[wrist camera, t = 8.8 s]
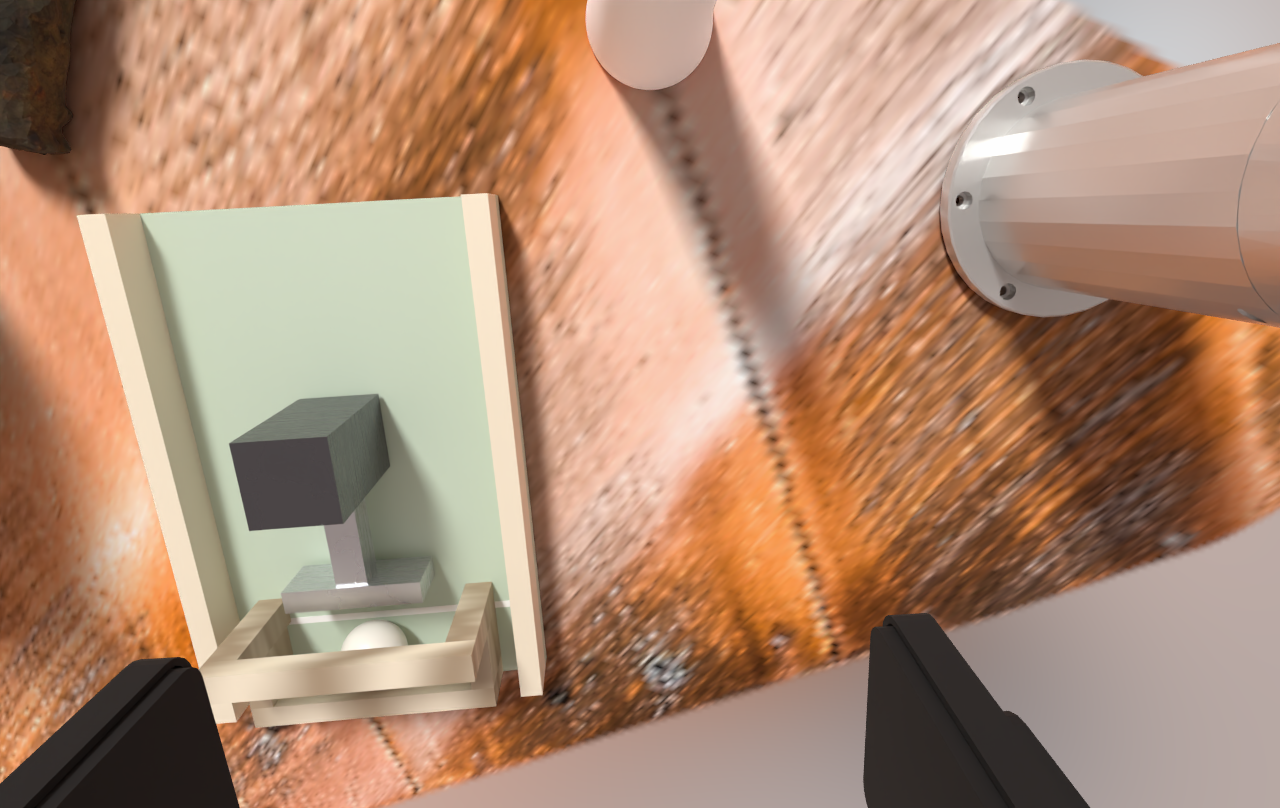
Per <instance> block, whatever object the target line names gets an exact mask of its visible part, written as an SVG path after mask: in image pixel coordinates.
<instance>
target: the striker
mask: <svg viewBox="0 0 1280 808" xmlns="http://www.w3.org/2000/svg"><path fill="white" fill-rule="evenodd" d="M229 447H230V451H231V455H232V459H233V464H234V468H235V472H236V477H237V481H238V485H239V490H240V494H241V498H242V503H243V507H244V511H245V515H246V520H247V524H248V528H249V531H256V530H270V529H283V528H296V527H309V526H323V525H324V529H325V534H326V539H327V544H328V549H329V554H330V559H331V564H321V565H308V566H303V567H302V568H301V569H300V571H299V572H298V573H297V574H296V575H295V577H294V578H293V579H292V580H291V581H290V583H289V584H288V585H287V586H286V588H285V589H284V590H283V591H282V592H281V597H282V601H283V606H284V610H285V614H290V613H303V612H315V611H327V610H340V609H352V608H364V607H377V606H389V605H401V604H414V603H423V601H424V599H425V597H426V595H427V592H428V590H429V588H430V586H431V583H432V581H433V579H434V576H435V571H434V565H433V558H432V556H424V557H411V558H398V559H385V560H376V559H375V554H374V548H373V543H372V537H371V531H370V526H369V520H368V514H367V509H366V503H365V497H366V495H367V494H368V493H369V492H370V491H371V489H372V488H373V487H374V486H375V484H376V483H377V482H378V481H379V479H380V478H381V477H382V476H383V474H384V473H385V472H386V471H387V469H388V468H389V467H390V461H389V455H388V449H387V443H386V437H385V431H384V425H383V419H382V413H381V407H380V401H379V395H378V394H366V395H351V396H336V397H321V398H306V399H299V400H297V401H295V402H294V403H292V404H291V405H289V406H287V407H286V408H284V409H283V410H281V411H279V412H278V413H276V414H275V415H273V416H272V417H270V418H268V419H267V420H265V421H264V422H262V423H260V424H259V425H257V426H256V427H254V428H252V429H251V430H249V431H248V432H246V433H245V434H243V435H241V436H240V437H238V438H237V439H235V440H233V441H232V442H230V443H229Z"/></svg>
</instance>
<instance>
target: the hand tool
mask: <svg viewBox="0 0 1280 808" xmlns="http://www.w3.org/2000/svg"><path fill="white" fill-rule="evenodd" d="M75 1H76V0H0V146H4V147H8V148H13V149H17V150H24V151H30V152H35V153H40V154H43V155H45V154H62V153H70V151H71V147H70V145H69V144H68V142H67V140H66V139H65V137H64V136H63V134H62V127H63V126H64V125H66V124H67V123H68V122H69V121H70V120H71V119H72V117H73V114H72V112H71V111H70V110H69V109H68V108H67V107H66V106H65V96H66V79H67V74H68V69H69V64H70V49H71V45H70V30H71V25H72V19H73V11H74V3H75Z"/></svg>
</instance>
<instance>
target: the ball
mask: <svg viewBox="0 0 1280 808" xmlns="http://www.w3.org/2000/svg"><path fill="white" fill-rule="evenodd" d="M407 645H408V643H407V639H406V636H405V634H404V633H403V631H402V630H401V629H400V628H399V627H398V626H397V625H396V624H394V623H392V622H390V621H387V620H380V619H375V620H370V621H366V622H364V623H362V624H360V625H358V626H357V627H355V628H354V629H353V630H352V631H351V632H350V633H349V634H348V636H347V637H346V639H345V640H344V642H343V645H342V648H341V651H348V650H360V649H372V648H384V647H396V646H407Z"/></svg>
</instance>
